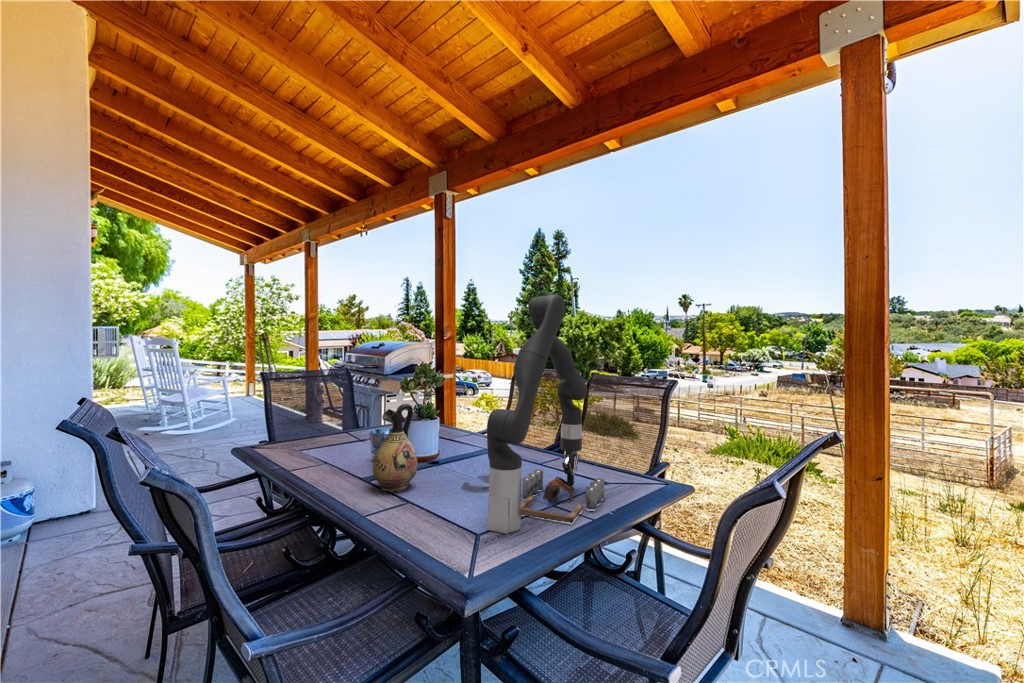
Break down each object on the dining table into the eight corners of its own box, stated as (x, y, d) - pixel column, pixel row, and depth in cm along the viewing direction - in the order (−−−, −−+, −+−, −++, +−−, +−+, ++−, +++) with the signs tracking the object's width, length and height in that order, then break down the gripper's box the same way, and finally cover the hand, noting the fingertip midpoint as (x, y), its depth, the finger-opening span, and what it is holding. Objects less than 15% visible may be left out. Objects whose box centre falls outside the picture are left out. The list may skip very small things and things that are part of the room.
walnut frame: (571, 525, 128) (571, 518, 128) (515, 514, 136) (515, 507, 136) (583, 511, 140) (583, 504, 140) (530, 501, 147) (530, 495, 147)
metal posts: (595, 512, 138) (595, 490, 138) (520, 499, 149) (520, 478, 149) (605, 499, 150) (605, 478, 151) (535, 488, 161) (535, 468, 161)
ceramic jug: (391, 498, 148) (392, 408, 148) (363, 489, 157) (365, 404, 157) (429, 486, 161) (431, 403, 161) (402, 478, 170) (403, 400, 171)
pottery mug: (545, 494, 156) (557, 474, 157) (567, 511, 152) (580, 490, 152) (534, 495, 145) (547, 474, 146) (558, 513, 141) (571, 491, 142)
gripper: (576, 440, 150) (575, 492, 150) (586, 433, 162) (585, 481, 162) (555, 438, 153) (554, 488, 153) (566, 431, 165) (566, 478, 165)
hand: (570, 484), depth 157 cm, fingers closed
